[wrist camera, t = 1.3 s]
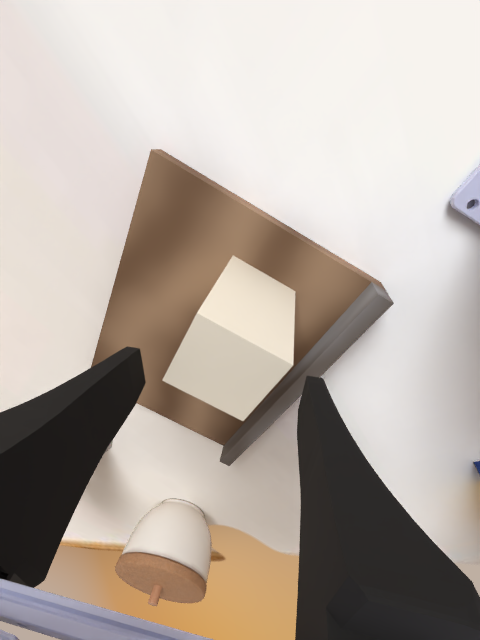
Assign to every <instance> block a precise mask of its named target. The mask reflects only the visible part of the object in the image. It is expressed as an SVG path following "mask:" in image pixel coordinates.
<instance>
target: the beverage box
mask: <svg viewBox="0 0 480 640" xmlns="http://www.w3.org/2000/svg"><path fill="white" fill-rule="evenodd" d="M473 462H474V464H475V466H476V468H477V471H478V473H479V475H480V460H477V461H473Z"/></svg>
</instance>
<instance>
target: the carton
mask: <svg viewBox="0 0 480 640" xmlns="http://www.w3.org/2000/svg"><path fill="white" fill-rule="evenodd" d="M294 324H295V291H294V290H292V289H291V288H289V287H287V286H285V285H284V284H282V283H280V282H278V281H277V280H275V279H273V278H272V277H270V276H268V275H266V274H265V273H263V272H261V271H259V270H258V269H256V268H254V267H252V266H251V265H249V264H247V263H245V262H244V261H242V260H240V259H239V258H237V257H235V256H232V258H231V259H230V261H229V263H228V264H227V266H226V267H225V269H224V271H223V272H222V274H221V275H220V277H219V279H218V280H217V282H216V283H215V285H214V287H213V288H212V290H211V291H210V293H209V294H208V296H207V298H206V299H205V301H204V302H203V304H202V306H201V307H200V309H199V310H198V312H197V314H196V316H195V318H194V320H193V322H192V324H191V325H190V327H189V329H188V331H187V333H186V335H185V337H184V339H183V341H182V343H181V345H180V347H179V349H178V351H177V353H176V355H175V356H174V358H173V360H172V362H171V364H170V366H169V368H168V370H167V372H166V374H165V376H164V378H163V380H162V381H164V382H166V383H168V384H170V385H172V386H174V387H176V388H178V389H180V390H182V391H184V392H186V393H188V394H190V395H192V396H194V397H196V398H198V399H200V400H202V401H204V402H206V403H208V404H210V405H212V406H214V407H216V408H218V409H220V410H222V411H224V412H226V413H228V414H229V415H231V416H233V417H235V418H237V419H239V420H241V421H244V420H245V419H246V418H247V416H248V415H249V414H250V413H251V412H252V411H253V410H254V409H255V408H256V406H257V405H258V404H259V403H260V402H261V401H262V400H263V399H264V397H265V396H266V395H267V394H268V393H269V392H270V391H271V390H272V389H273V387H274V386H275V385H276V384H277V383H278V382H279V381H280V380H281V378H282V377H283V376H284V375H285V374H286V373H287V372H288V371H289V370H290V368H291V367H292V366H293V359H294Z"/></svg>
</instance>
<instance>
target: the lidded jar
mask: <svg viewBox="0 0 480 640" xmlns="http://www.w3.org/2000/svg"><path fill="white" fill-rule="evenodd" d="M210 560H211V535H210V531H209V528H208V525H207V523H206V521H205V519H204V513H203V512H202V510H201V509H200V508H198V507H197V506H196V505H194V504H192V503H190V502H187V501H184V500H181V499H166V500H164V501H163V502H162V504H160V505H158V506H156V507H154V508H153V509H151V510H150V511H149V512H148V513H146V514H145V515H144V517H143V518H142V519H141V520H140V521H139V523H138V524H137V526H136V527H135V529H134V531H133V532H132V534H131V536H130V538H129V540H128V542H127V544H126V546H125V548H124V551H123V553H122V555H121V556H120V558H119V560H118V562H117V564H116V566H115V571H116V573H117V575H118V576H119V577H120V578H121V579H122V580H123V581H125V582H126V583H127V584H129V585H130V586H132V587H134V588H136V589H138V590H140V591H142V592H144V593H147V594H149V595H151V596H150V599H149V602H148V603H149V604H150V605H152V606H157V604H158V601H159V598H161V599H165V600H169V601H173V602H179V603H195V602H199V601H201V600H202V599H203V598H204V597H205V593H206V583H207V578H208V573H209V568H210Z"/></svg>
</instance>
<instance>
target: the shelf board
mask: <svg viewBox="0 0 480 640" xmlns="http://www.w3.org/2000/svg"><path fill="white" fill-rule="evenodd" d="M232 256H235V257H237V258H239V259H240V260H242V261H244V262H245V263H247V264H249V265H251V266H252V267H254V268H256V269H258V270H259V271H261V272H263V273H265V274H266V275H268V276H270V277H272V278H273V279H275V280H277V281H278V282H280V283H282V284H284V285H285V286H287V287H289V288H291V289H292V290H294V291H295V324H294V359H293V366H292V367H291V368H290V370H289V371H288V372H287V373H286V374H285V375H284V376H283V377H282V378H281V380H280V381H279V382H278V383H277V384H276V385H275V386H274V387H273V389H272V390H271V391H270V392H269V393H268V394H267V395H266V396H265V397H264V399H263V400H262V401H261V402H260V403H259V404H258V405H257V406H256V408H255V409H254V410H253V411H252V412H251V413H250V414H249V415H248V416H247V418H246V419H245V420H244V421H241V420H239V419H237V418H235V417H233V416H231V415H229V414H228V413H226V412H224V411H222V410H220V409H218V408H216V407H214V406H212V405H210V404H208V403H206V402H204V401H202V400H200V399H198V398H196V397H194V396H192V395H190V394H188V393H186V392H184V391H182V390H180V389H178V388H176V387H174V386H172V385H170V384H168V383H166V382H164V381H162V380H163V378H164V376H165V374H166V372H167V370H168V368H169V366H170V364H171V362H172V360H173V358H174V356H175V355H176V353H177V351H178V349H179V347H180V345H181V343H182V341H183V339H184V337H185V335H186V333H187V331H188V329H189V327H190V325H191V324H192V322H193V320H194V318H195V316H196V314H197V312H198V310H199V309H200V307H201V306H202V304H203V302H204V301H205V299H206V298H207V296H208V294H209V293H210V291H211V290H212V288H213V287H214V285H215V283H216V282H217V280H218V279H219V277H220V275H221V274H222V272H223V271H224V269H225V267H226V266H227V264H228V263H229V261H230V259H231V258H232ZM393 304H394V303H393V302H392V300H391V298H390V297H389V295H388V293H387V292H386V290H385V288H384V287H383V285H382V284H381V282H379V281H378V280H376V279H374V278H373V277H371V276H369V275H368V274H366V273H365V272H363V271H361V270H360V269H358V268H356V267H355V266H353V265H351V264H350V263H348V262H346V261H345V260H343V259H341V258H340V257H338V256H336V255H335V254H333V253H331V252H330V251H328V250H326V249H325V248H323V247H321V246H320V245H318V244H316V243H315V242H313V241H312V240H310V239H308V238H307V237H305V236H303V235H302V234H300V233H298V232H297V231H295V230H293V229H292V228H290V227H288V226H287V225H285V224H283V223H282V222H280V221H278V220H277V219H275V218H273V217H272V216H270V215H268V214H267V213H265V212H263V211H262V210H260V209H259V208H257V207H255V206H254V205H252V204H250V203H249V202H247V201H245V200H244V199H242V198H240V197H239V196H237V195H235V194H234V193H232V192H230V191H229V190H227V189H225V188H224V187H222V186H220V185H219V184H217V183H215V182H214V181H212V180H210V179H209V178H207V177H206V176H204V175H202V174H201V173H199V172H197V171H196V170H194V169H192V168H191V167H189V166H187V165H186V164H184V163H182V162H181V161H179V160H177V159H176V158H174V157H172V156H171V155H169V154H167V153H166V152H164V151H162V150H161V149H156V150H151V152H150V155H149V159H148V163H147V166H146V170H145V174H144V177H143V181H142V184H141V188H140V192H139V195H138V199H137V203H136V206H135V210H134V213H133V217H132V221H131V224H130V228H129V232H128V235H127V239H126V242H125V246H124V250H123V253H122V257H121V261H120V264H119V268H118V271H117V275H116V279H115V282H114V286H113V290H112V293H111V297H110V300H109V304H108V308H107V311H106V315H105V319H104V322H103V326H102V329H101V333H100V337H99V340H98V344H97V348H96V351H95V355H94V358H93V362H92V366H91V368H92V367H93V366H95V365H97V364H98V363H100V362H102V361H103V360H105V359H106V358H108V357H110V356H111V355H113V354H115V353H116V352H118V351H120V350H121V349H123V348H125V347H127V346H128V347H134V348H140V351H141V357H142V363H143V369H144V375H145V381H146V383H145V386H144V388H143V390H142V392H141V394H140V396H139V398H138V400H137V402H136V403H138V404H140V405H142V406H144V407H146V408H148V409H150V410H152V411H154V412H156V413H158V414H160V415H162V416H164V417H166V418H168V419H170V420H172V421H174V422H176V423H178V424H180V425H183V426H185V427H187V428H189V429H191V430H193V431H195V432H197V433H199V434H201V435H203V436H205V437H207V438H209V439H211V440H213V441H215V442H217V443H219V444H221V445H223V450H222V454H221V458H220V462H222V463H224V464H226V465H228V466H230V465H231V464H232V463H233V462H234V461H235V460H236V459H237V458H238V457H239V456H240V455H241V454H242V453H243V452H244V451H245V450H246V449H247V448H248V447H249V446H250V445H251V444H252V443H253V442H254V441H255V440H256V439H257V438H259V437H260V436H261V435H262V434H263V433H264V432H265V431H266V430H267V429H268V428H269V427H270V426H271V425H272V424H273V423H274V421H275V420H276V419H277V418H278V417H279V416H280V415H281V414H282V413H283V412H284V411H285V410H286V409H287V408H288V407H289V406H290V405H291V404H292V403H293V402H294V401H295V400H297V399H298V398H299V397H300V396H301V395H302V392H303V388H304V384H305V380H306V376H313V377H320V376H321V375H322V374H323V373H324V372H325V371H326V370H327V369H328V368H329V367H330V366H331V365H332V364H333V363H334V362H335V361H336V360H337V359H339V358H340V357H341V355H342V354H343V353H344V352H345V351H346V350H347V349H348V348H349V347H350V346H351V345H352V344H353V343H354V342H355V341H356V340H357V339H358V338H359V337H360V336H361V335H362V334H363V333H364V332H365V331H366V330H367V329H368V328H369V327H370V326H371V325H372V324H373V323H374V322H375V321H376V320H377V319H378V318H379V317H380V316H381V315H382V314H383V313H384V312H385V311H386V310H388V309H389V308H390V307H391V306H392V305H393Z"/></svg>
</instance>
